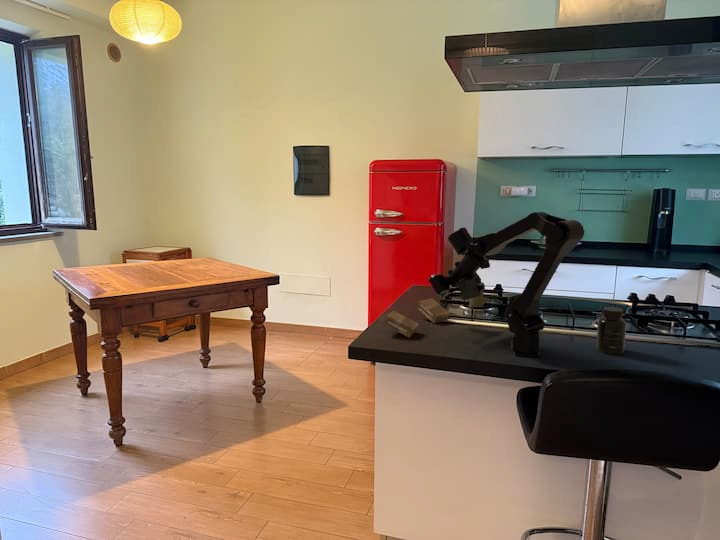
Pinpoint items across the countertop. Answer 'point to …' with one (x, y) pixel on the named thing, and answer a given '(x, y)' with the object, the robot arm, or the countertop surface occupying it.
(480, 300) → the cork
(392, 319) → the block one
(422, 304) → the block two
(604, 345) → the supplement bottle
